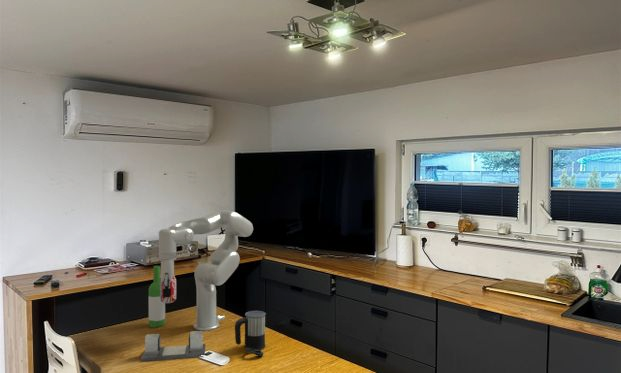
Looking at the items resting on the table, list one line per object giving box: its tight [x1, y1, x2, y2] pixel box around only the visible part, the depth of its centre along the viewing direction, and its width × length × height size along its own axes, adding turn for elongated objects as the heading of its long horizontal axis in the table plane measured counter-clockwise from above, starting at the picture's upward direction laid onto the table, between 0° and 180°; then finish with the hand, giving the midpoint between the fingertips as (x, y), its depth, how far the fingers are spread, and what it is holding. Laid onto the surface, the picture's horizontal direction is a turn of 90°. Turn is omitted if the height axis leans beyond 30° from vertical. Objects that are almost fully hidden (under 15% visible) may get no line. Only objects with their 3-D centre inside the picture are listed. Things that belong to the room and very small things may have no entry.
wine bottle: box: [148, 265, 166, 328], centre depth 214 cm, size 8×8×30 cm
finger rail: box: [140, 330, 206, 363], centre depth 180 cm, size 25×10×8 cm, turn 102°
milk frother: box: [234, 310, 267, 357], centre depth 184 cm, size 14×16×15 cm
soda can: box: [160, 274, 177, 304], centre depth 194 cm, size 7×7×12 cm
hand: (168, 294), depth 195 cm, fingers closed on soda can, 7 cm apart
